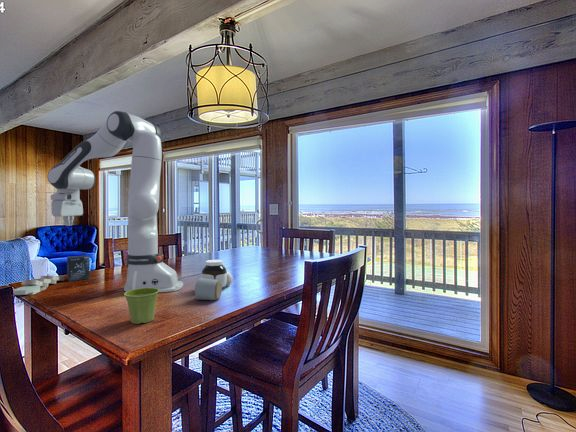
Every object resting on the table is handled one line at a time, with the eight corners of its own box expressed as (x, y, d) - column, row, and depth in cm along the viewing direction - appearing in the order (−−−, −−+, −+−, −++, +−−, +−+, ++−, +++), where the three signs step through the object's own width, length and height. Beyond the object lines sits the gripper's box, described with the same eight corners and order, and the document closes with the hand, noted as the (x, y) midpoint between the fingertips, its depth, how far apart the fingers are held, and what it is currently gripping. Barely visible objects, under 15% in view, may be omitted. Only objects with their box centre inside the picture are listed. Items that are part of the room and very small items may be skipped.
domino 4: (46, 286, 126) (32, 292, 118) (46, 290, 126) (32, 296, 119) (32, 287, 126) (18, 292, 118) (32, 291, 126) (18, 296, 118)
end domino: (64, 277, 141) (53, 275, 133) (64, 280, 140) (52, 279, 132) (52, 277, 140) (40, 275, 132) (52, 280, 140) (40, 279, 132)
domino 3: (48, 283, 129) (36, 280, 122) (47, 287, 129) (35, 284, 121) (35, 283, 129) (22, 280, 121) (34, 287, 128) (21, 284, 121)
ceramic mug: (216, 302, 110) (216, 281, 110) (194, 302, 111) (194, 280, 110) (225, 295, 120) (225, 275, 120) (204, 294, 121) (204, 274, 121)
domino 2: (56, 280, 135) (44, 278, 128) (56, 283, 135) (43, 282, 127) (44, 280, 135) (31, 278, 127) (43, 284, 134) (30, 282, 127)
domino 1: (40, 284, 123) (25, 290, 115) (40, 288, 123) (25, 294, 115) (26, 285, 123) (10, 290, 115) (26, 289, 123) (10, 294, 115)
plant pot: (116, 324, 90) (116, 293, 89) (142, 313, 98) (142, 286, 98) (141, 328, 86) (141, 297, 86) (166, 317, 95) (166, 289, 95)
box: (69, 281, 138) (69, 258, 138) (66, 279, 142) (66, 256, 142) (90, 279, 144) (89, 256, 143) (87, 277, 148) (86, 254, 148)
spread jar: (199, 291, 124) (199, 262, 124) (206, 284, 135) (206, 257, 135) (229, 291, 124) (229, 262, 124) (234, 284, 136) (234, 258, 135)
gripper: (73, 197, 158) (73, 224, 158) (48, 195, 138) (48, 227, 138) (86, 197, 159) (86, 224, 159) (63, 195, 139) (64, 227, 139)
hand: (68, 225), depth 149 cm, fingers closed
